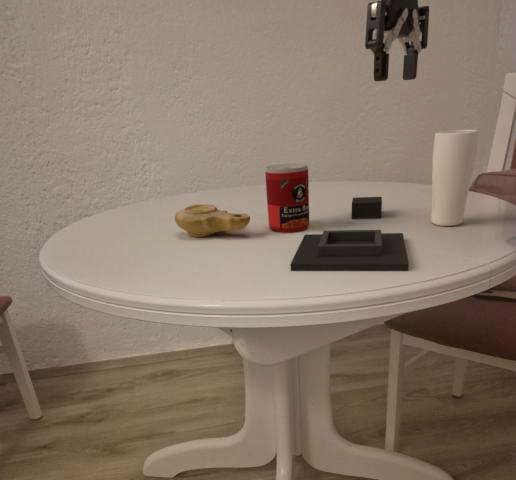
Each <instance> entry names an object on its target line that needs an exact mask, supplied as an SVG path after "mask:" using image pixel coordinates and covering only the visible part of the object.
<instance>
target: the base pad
mask: <svg viewBox="0 0 516 480" xmlns="http://www.w3.org/2000/svg"><path fill="white" fill-rule="evenodd" d="M409 266H410V262H409V258H408V252H407V247H406V242H405V237H404V233H403V232H387V233H386V232H382V229H345V230H344V229H343V230H342V229H340V230H339V229H337V230H333V229H332V230H323V231H322V233H319V234H316V233H315V234H304V235H303V237H302V240H301V242H300V244H299V246H298V248H297V250H296V252H295V254H294V255H293V258H292V260H291V262H290V271H304V272H305V271H307V272H308V271H319V272H320V271H321V272H322V271H325V272H326V271H328V272H329V271H330V272H331V271H334V272H335V271H337V272H338V271H341V272H342V271H343V272H345V271H349V272H350V271H351V272H352V271H353V272H355V271H359V272H360V271H361V272H363V271H368V272H369V271H371V272H372V271H373V272H374V271H375V272H376V271H378V272H381V271H383V272H384V271H386V272H387V271H388V272H389V271H393V272H395V271H396V272H397V271H399V272H400V271H401V272H403V271H404V272H405V271H406V272H407V271H408V272H409V268H410V267H409Z"/></svg>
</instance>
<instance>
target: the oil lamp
mask: <svg viewBox="0 0 516 480" xmlns="http://www.w3.org/2000/svg"><path fill="white" fill-rule="evenodd" d="M174 221H175V224H176V225H177V226H178V227H179V228H180V229H182V230H183V231H186V232H187V234H188V235H189V236H190V237H193V238H204V237H205V238H206V237H209V236H212V235H214V234H215V233H219V232H237V231H242V230H244V229H245V228H246V227H247V226H248V225H249V223H250V221H251V216H250V215H248V214H247V213H232V212H229V211H227V210H220V209H218V208H217V206H216V205H214V204H193V205H189V206H186V207H184V208H183V209H182V210H179V211H177V212H176V213H175V215H174Z"/></svg>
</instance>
